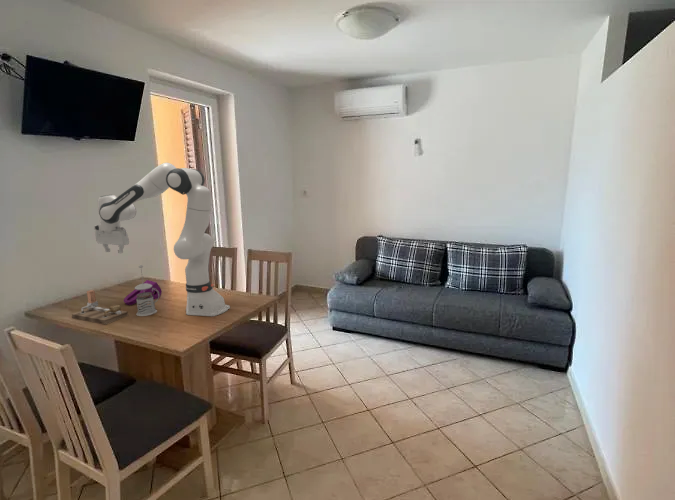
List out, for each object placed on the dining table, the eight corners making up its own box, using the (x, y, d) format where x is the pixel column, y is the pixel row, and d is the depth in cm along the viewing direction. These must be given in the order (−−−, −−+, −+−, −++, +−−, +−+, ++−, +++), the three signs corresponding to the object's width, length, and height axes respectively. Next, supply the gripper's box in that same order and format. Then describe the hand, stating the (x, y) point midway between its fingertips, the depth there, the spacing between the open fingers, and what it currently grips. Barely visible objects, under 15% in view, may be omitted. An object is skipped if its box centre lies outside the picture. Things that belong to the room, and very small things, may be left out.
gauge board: (128, 315, 190) (126, 304, 189) (106, 324, 180) (104, 313, 178) (95, 309, 199) (93, 299, 198) (72, 317, 188) (70, 307, 187)
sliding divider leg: (98, 307, 195) (95, 290, 193) (84, 312, 188) (81, 294, 186) (94, 306, 196) (91, 289, 194) (79, 311, 189) (76, 293, 188)
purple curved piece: (137, 315, 207) (164, 293, 219) (129, 303, 203) (156, 282, 214) (128, 311, 212) (154, 290, 224) (120, 300, 208) (147, 279, 219)
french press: (137, 310, 197) (131, 263, 192) (161, 307, 201) (156, 261, 196) (134, 317, 188) (128, 268, 183) (160, 313, 192) (154, 265, 187)
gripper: (130, 226, 196) (133, 252, 199) (102, 224, 204) (106, 250, 206) (119, 228, 190) (123, 255, 193) (91, 226, 198) (95, 252, 201)
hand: (114, 252), depth 200 cm, fingers open, 8 cm apart
